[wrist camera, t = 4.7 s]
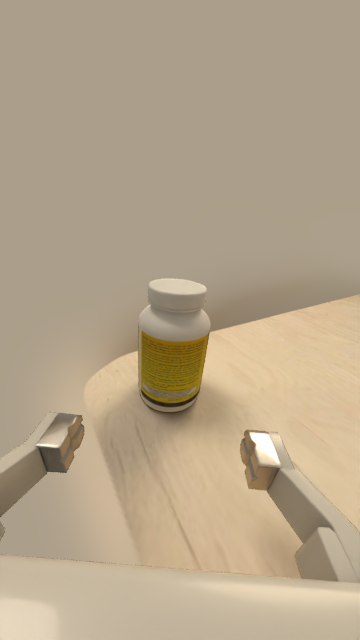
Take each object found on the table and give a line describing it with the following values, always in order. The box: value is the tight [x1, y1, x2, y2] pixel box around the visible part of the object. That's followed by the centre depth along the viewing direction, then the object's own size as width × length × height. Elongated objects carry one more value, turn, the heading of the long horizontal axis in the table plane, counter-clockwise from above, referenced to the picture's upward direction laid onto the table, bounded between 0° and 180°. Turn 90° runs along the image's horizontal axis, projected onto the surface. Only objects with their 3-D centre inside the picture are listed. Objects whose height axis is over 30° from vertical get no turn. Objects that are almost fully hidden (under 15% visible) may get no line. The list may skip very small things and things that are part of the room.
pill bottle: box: [138, 278, 210, 412], centre depth 18 cm, size 6×6×11 cm
